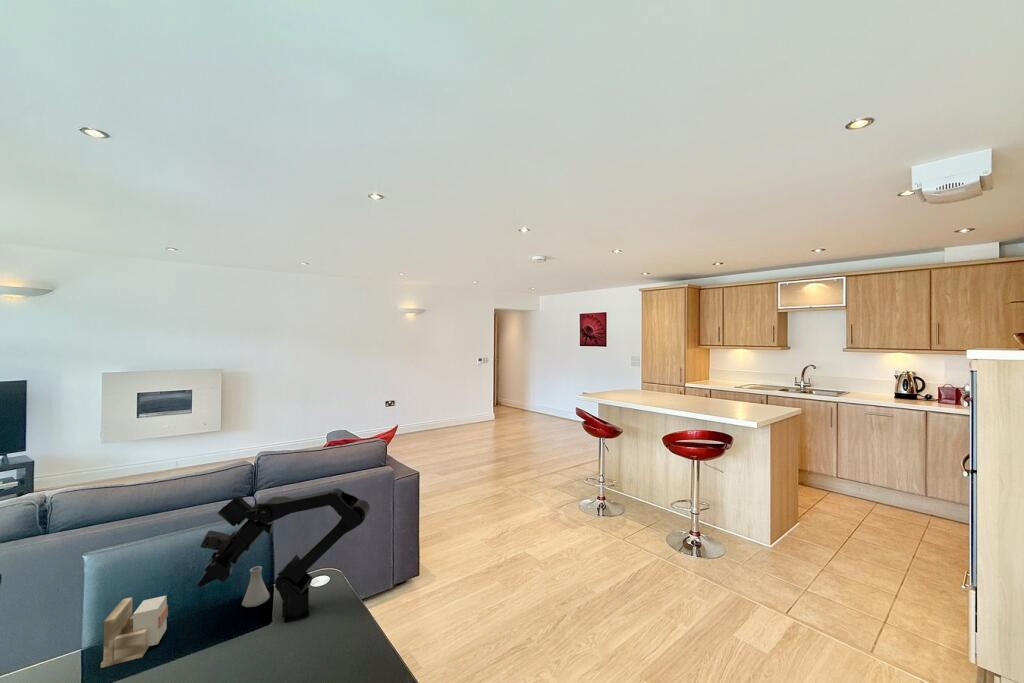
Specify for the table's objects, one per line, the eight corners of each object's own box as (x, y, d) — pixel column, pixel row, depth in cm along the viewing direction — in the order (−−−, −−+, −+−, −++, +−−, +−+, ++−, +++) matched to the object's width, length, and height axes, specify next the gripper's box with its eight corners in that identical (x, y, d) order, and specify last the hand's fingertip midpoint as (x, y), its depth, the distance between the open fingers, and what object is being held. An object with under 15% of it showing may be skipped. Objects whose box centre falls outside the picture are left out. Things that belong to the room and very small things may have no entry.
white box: (168, 628, 115) (168, 595, 115) (159, 643, 109) (159, 608, 109) (143, 634, 113) (143, 600, 113) (132, 650, 106) (133, 614, 107)
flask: (256, 609, 125) (256, 575, 125) (236, 607, 126) (236, 573, 127) (274, 595, 132) (274, 563, 133) (255, 594, 133) (255, 562, 134)
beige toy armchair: (159, 631, 116) (160, 591, 116) (144, 656, 106) (145, 612, 106) (120, 641, 112) (120, 599, 113) (100, 668, 102) (101, 621, 103)
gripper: (228, 510, 127) (183, 555, 122) (214, 532, 110) (161, 585, 105) (258, 531, 130) (215, 576, 125) (249, 555, 113) (199, 608, 108)
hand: (198, 585), depth 116 cm, fingers closed
